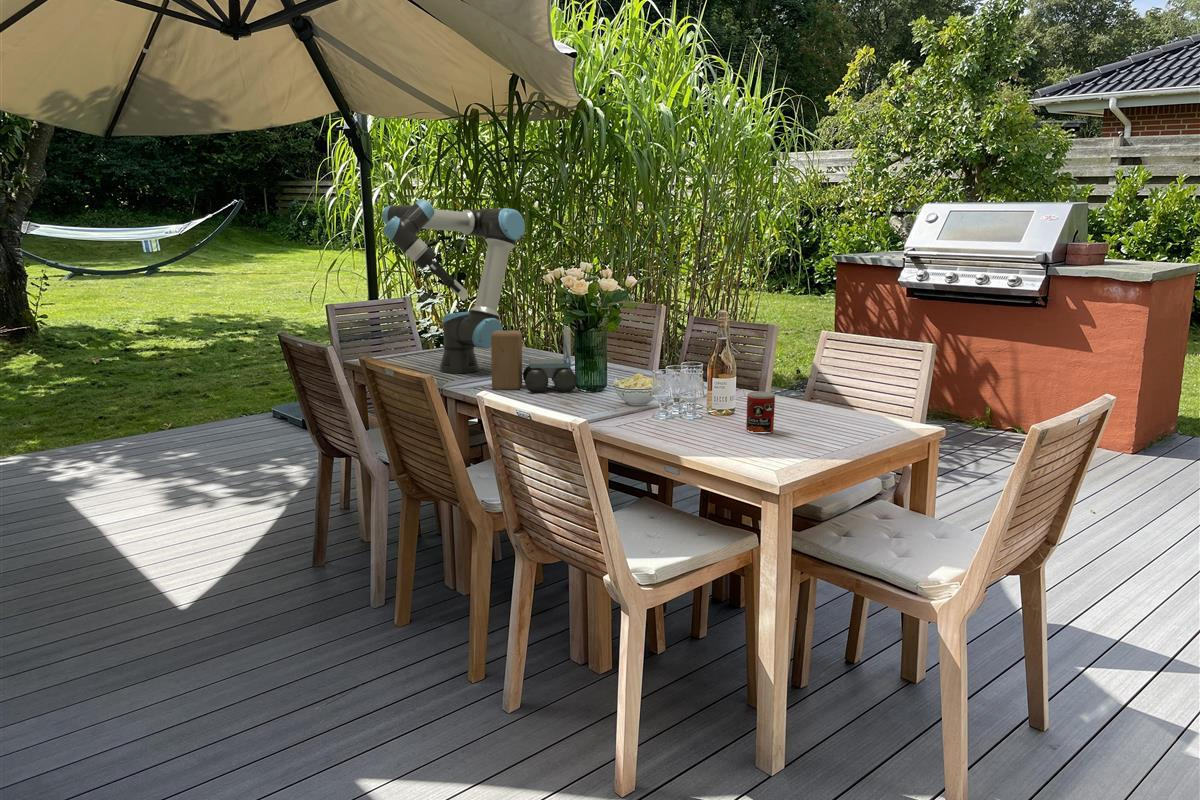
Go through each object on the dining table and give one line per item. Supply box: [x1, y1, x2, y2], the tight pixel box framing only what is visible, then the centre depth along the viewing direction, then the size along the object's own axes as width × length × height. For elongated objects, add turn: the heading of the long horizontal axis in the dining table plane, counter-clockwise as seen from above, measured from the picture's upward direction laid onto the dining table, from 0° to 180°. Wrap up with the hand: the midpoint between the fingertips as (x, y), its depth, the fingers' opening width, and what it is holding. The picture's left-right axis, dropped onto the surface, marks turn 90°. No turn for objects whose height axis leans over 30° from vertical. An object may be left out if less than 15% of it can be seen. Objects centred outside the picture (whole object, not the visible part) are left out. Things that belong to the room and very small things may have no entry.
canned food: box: [745, 390, 776, 432], centre depth 261 cm, size 8×8×11 cm
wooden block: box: [490, 329, 523, 391], centre depth 326 cm, size 10×10×20 cm
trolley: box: [522, 324, 578, 394], centre depth 322 cm, size 14×18×25 cm
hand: (466, 296), depth 327 cm, fingers open, 13 cm apart
